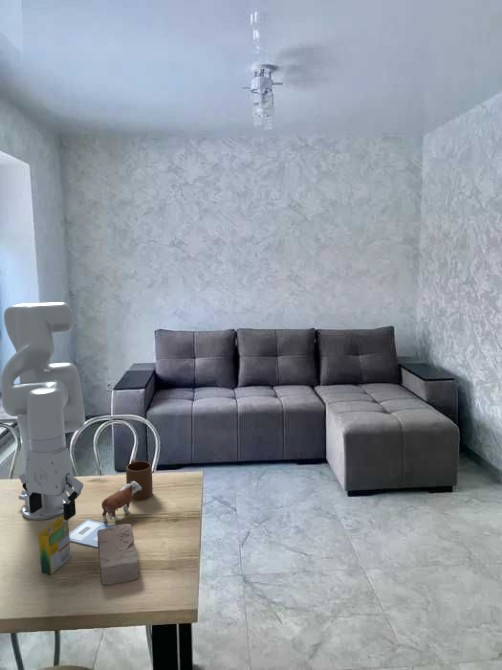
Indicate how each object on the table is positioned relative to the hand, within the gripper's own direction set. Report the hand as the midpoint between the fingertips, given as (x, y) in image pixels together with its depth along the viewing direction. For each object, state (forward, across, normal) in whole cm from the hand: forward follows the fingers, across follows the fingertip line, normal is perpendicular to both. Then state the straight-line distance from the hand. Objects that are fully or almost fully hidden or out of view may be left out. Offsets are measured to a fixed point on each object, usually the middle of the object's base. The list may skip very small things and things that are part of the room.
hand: (52, 514), depth 117 cm
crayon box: (+13, -1, +1) cm, 13 cm away
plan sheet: (+13, 0, +15) cm, 20 cm away
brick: (+13, +12, +7) cm, 19 cm away
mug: (+13, -3, +39) cm, 41 cm away
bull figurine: (+13, 0, +26) cm, 29 cm away
